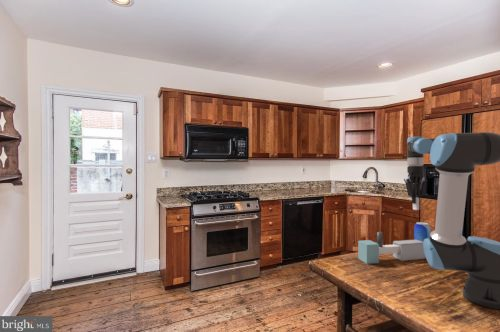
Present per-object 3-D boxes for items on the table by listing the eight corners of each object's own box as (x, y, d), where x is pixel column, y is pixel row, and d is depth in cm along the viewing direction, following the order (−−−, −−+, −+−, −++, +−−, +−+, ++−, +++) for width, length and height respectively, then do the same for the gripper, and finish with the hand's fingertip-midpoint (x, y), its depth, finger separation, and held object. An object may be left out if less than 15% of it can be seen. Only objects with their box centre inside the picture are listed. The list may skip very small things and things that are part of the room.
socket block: (378, 262, 145) (378, 244, 144) (366, 263, 143) (366, 244, 143) (369, 257, 152) (369, 240, 152) (358, 258, 151) (358, 240, 151)
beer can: (411, 248, 168) (411, 222, 168) (420, 246, 172) (419, 221, 172) (425, 252, 161) (424, 225, 160) (433, 250, 164) (433, 223, 164)
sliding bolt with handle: (406, 252, 150) (406, 231, 150) (366, 255, 146) (366, 234, 146) (401, 250, 153) (401, 230, 153) (363, 253, 149) (362, 232, 149)
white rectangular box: (425, 258, 150) (425, 242, 150) (401, 260, 148) (401, 244, 148) (416, 254, 157) (415, 239, 157) (393, 256, 154) (392, 240, 154)
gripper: (419, 165, 151) (420, 208, 151) (399, 165, 149) (400, 209, 148) (431, 165, 144) (432, 210, 144) (410, 165, 141) (411, 211, 141)
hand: (415, 209), depth 146 cm, fingers closed
